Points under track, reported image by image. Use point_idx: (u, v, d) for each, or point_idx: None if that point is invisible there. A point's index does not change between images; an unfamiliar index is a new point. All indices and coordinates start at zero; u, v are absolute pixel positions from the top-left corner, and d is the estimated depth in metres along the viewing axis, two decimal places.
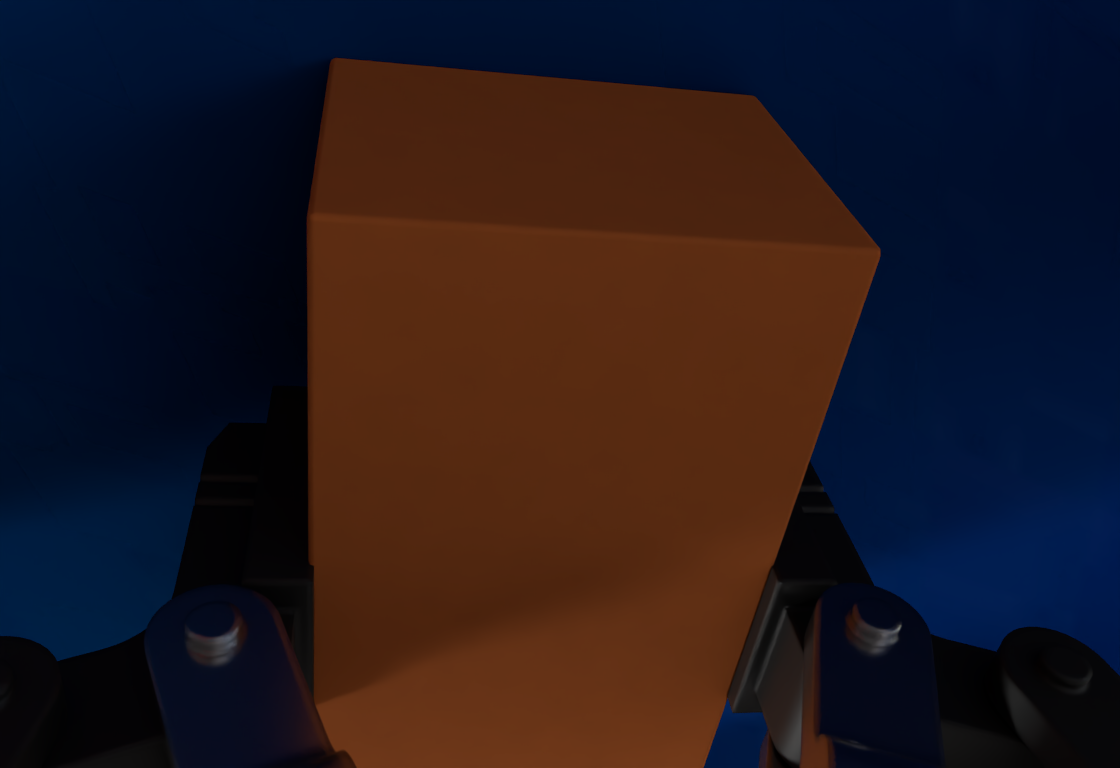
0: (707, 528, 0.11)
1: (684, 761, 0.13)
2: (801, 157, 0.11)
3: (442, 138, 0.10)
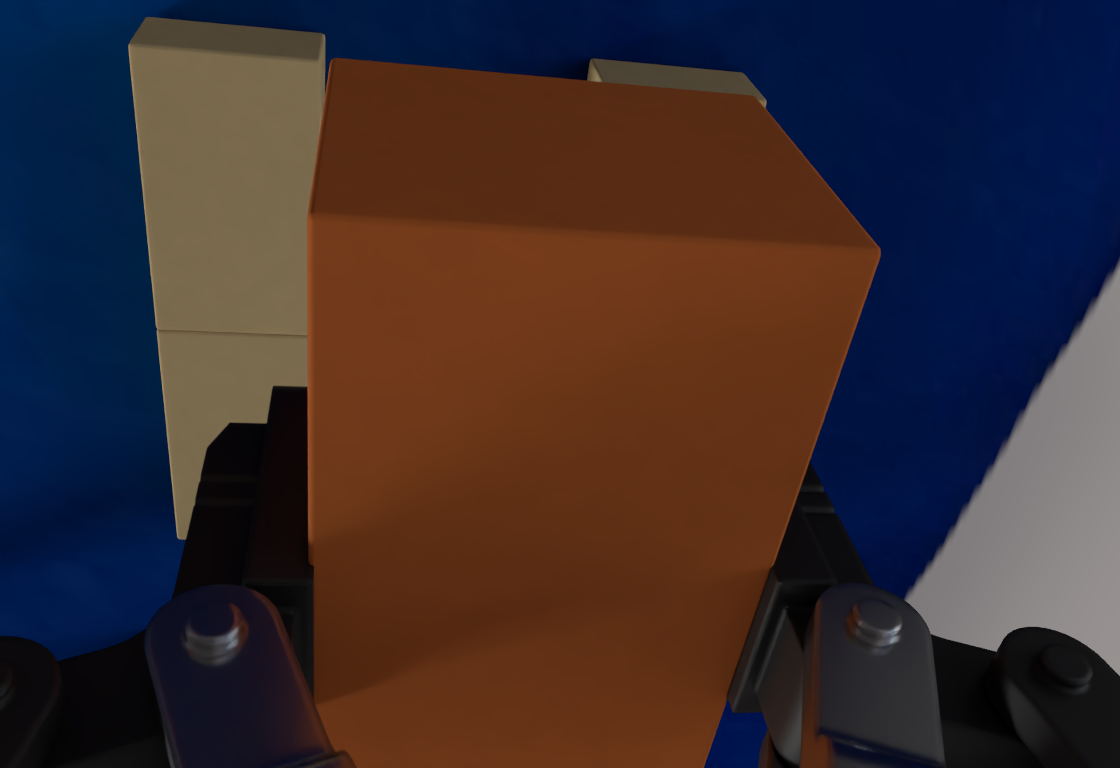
0: (706, 528, 0.11)
1: (684, 761, 0.13)
2: (801, 157, 0.11)
3: (443, 137, 0.10)
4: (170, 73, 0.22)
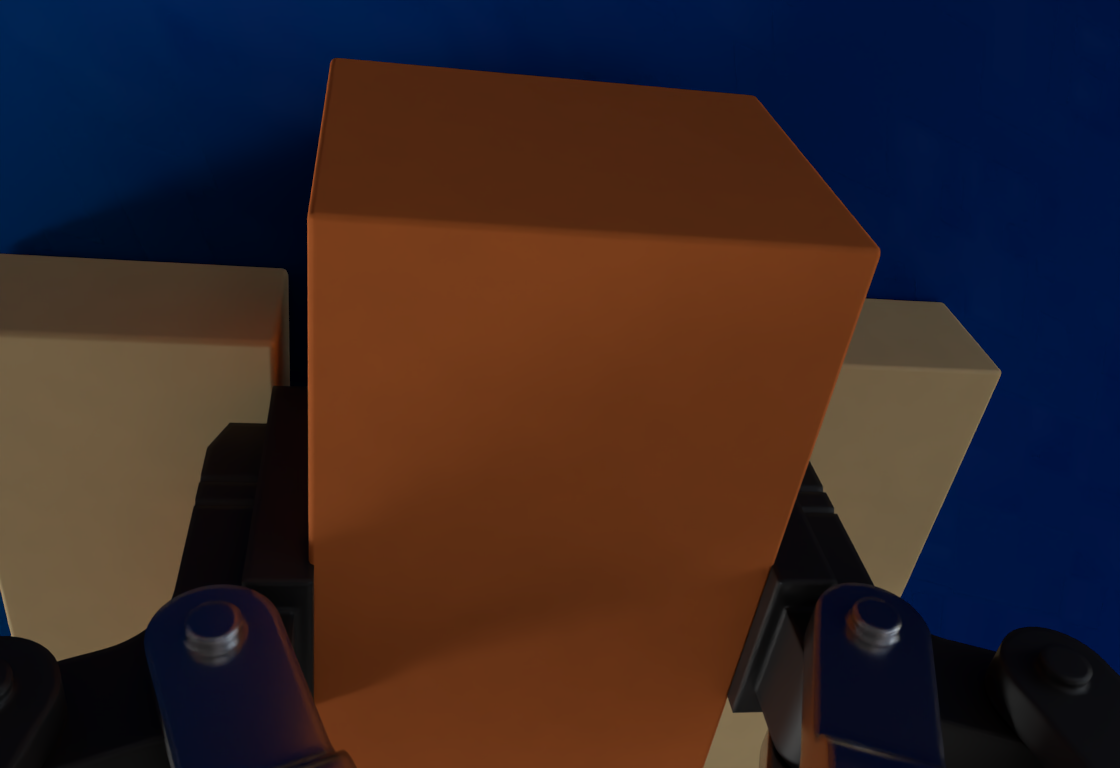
0: (706, 528, 0.11)
1: (684, 760, 0.13)
2: (801, 157, 0.11)
3: (443, 137, 0.10)
4: (16, 371, 0.13)
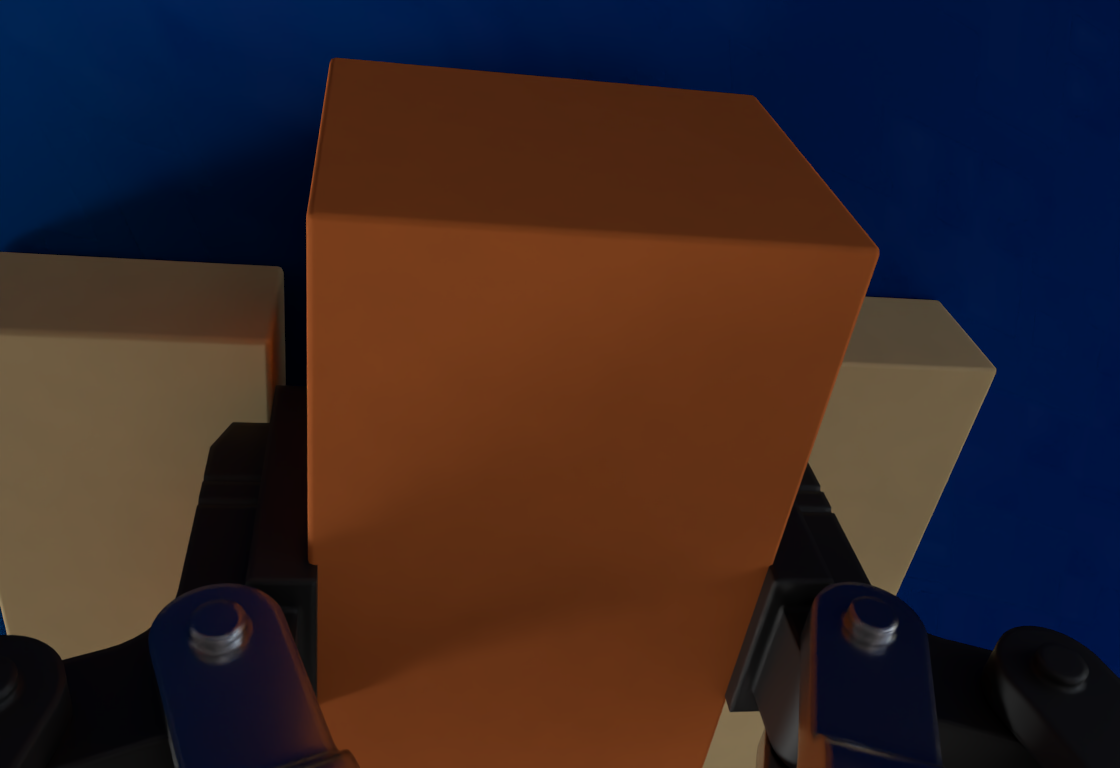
0: (706, 527, 0.11)
1: (683, 760, 0.13)
2: (800, 156, 0.11)
3: (442, 138, 0.10)
4: (11, 369, 0.13)
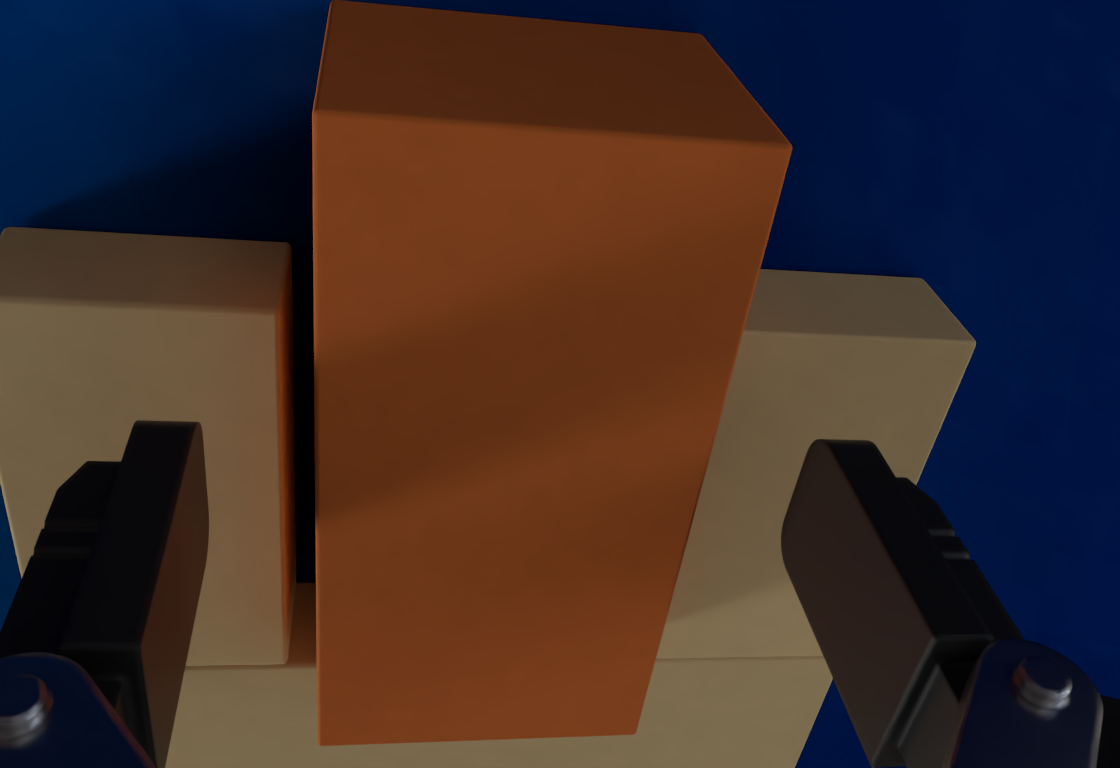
0: (656, 398, 0.13)
1: (646, 623, 0.15)
2: (734, 79, 0.13)
3: (426, 60, 0.12)
4: (33, 337, 0.13)
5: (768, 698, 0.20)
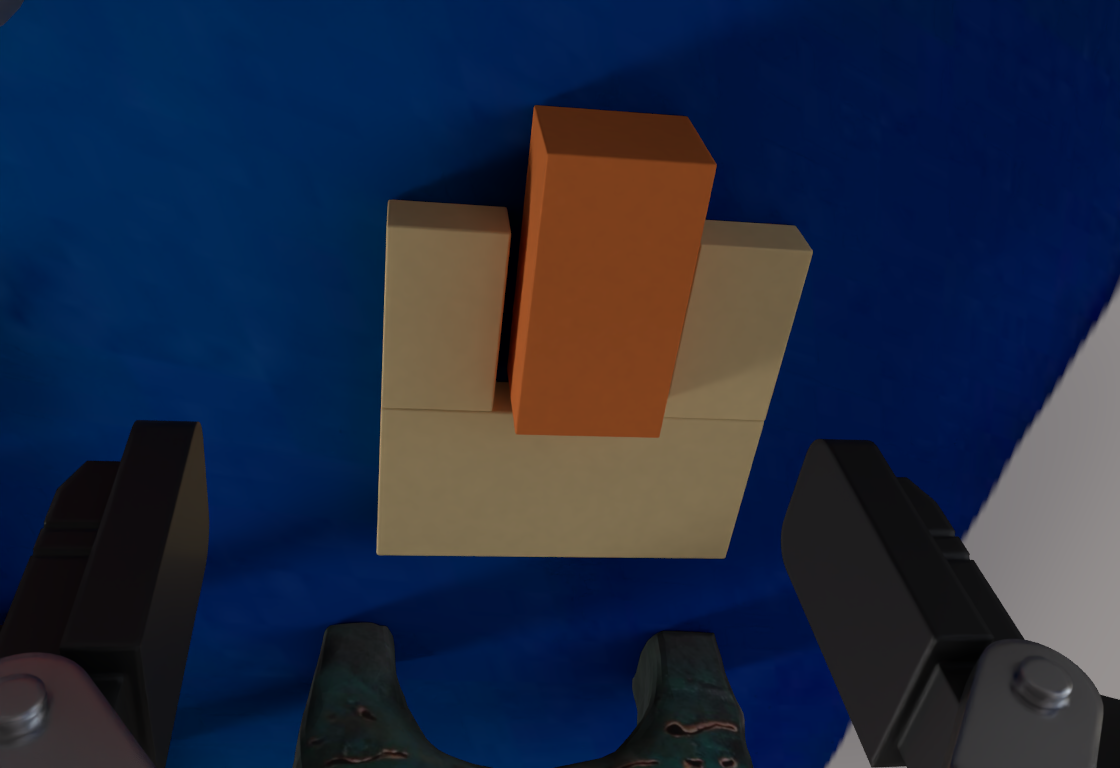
0: (667, 265, 0.32)
1: (663, 374, 0.34)
2: (698, 137, 0.32)
3: (579, 132, 0.31)
4: (412, 243, 0.32)
5: (727, 444, 0.39)
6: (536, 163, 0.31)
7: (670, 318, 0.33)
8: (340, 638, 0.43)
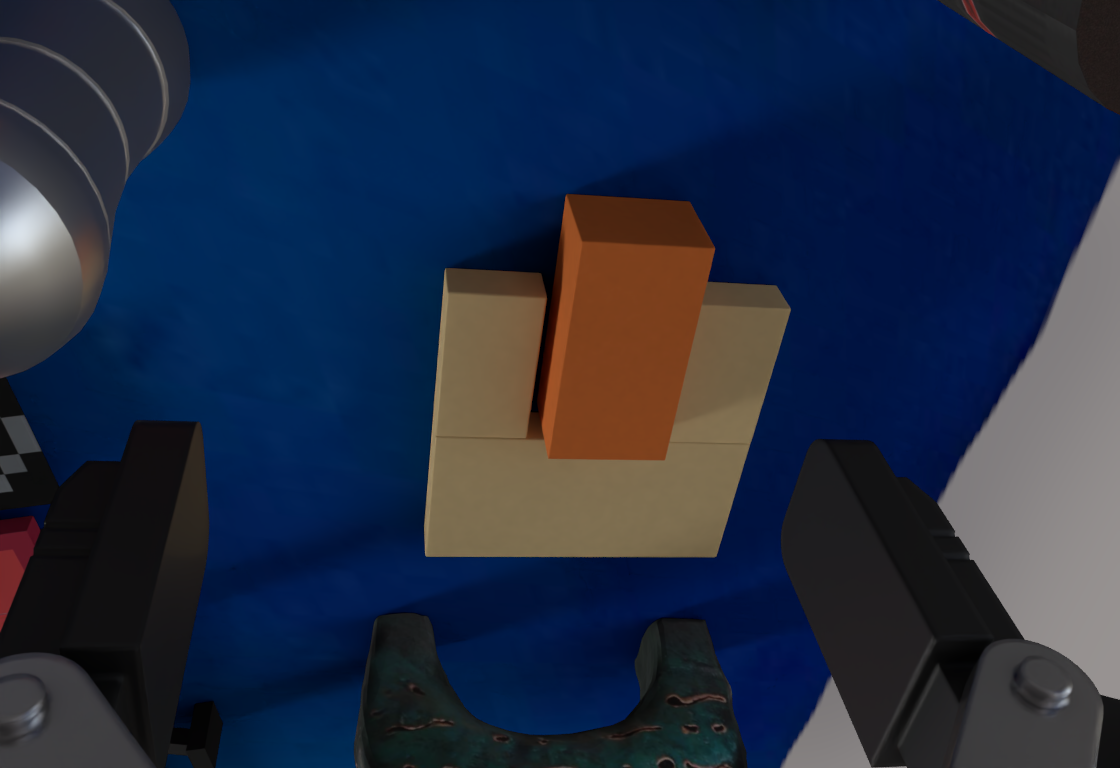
0: (674, 325, 0.39)
1: (669, 410, 0.42)
2: (699, 222, 0.39)
3: (604, 219, 0.38)
4: (467, 305, 0.40)
5: (719, 464, 0.46)
6: (569, 243, 0.39)
7: (676, 366, 0.40)
8: (389, 626, 0.51)
